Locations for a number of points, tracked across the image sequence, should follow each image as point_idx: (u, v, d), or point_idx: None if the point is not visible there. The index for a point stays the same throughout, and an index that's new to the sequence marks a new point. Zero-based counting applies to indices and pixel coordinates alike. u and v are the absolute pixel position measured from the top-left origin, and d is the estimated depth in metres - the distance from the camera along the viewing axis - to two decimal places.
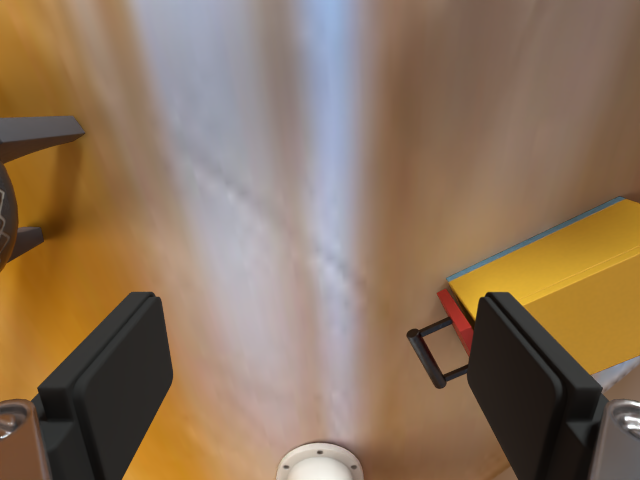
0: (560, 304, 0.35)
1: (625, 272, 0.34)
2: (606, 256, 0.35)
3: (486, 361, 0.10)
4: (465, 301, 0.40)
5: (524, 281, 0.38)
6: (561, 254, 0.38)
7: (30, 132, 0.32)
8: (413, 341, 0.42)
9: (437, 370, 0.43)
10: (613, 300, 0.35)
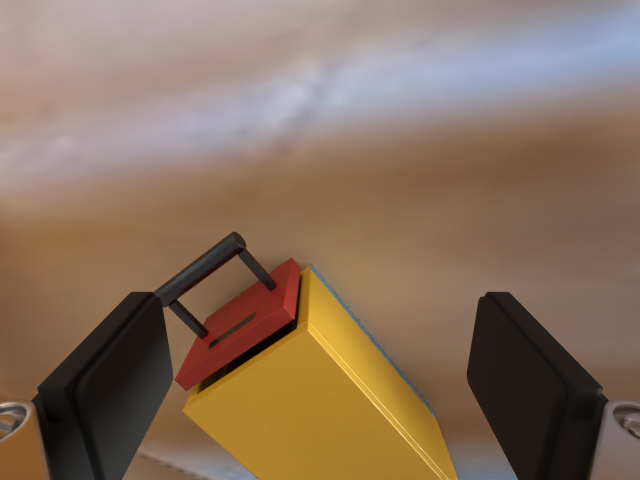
0: (354, 414, 0.26)
1: (406, 463, 0.28)
2: (413, 436, 0.29)
3: (486, 361, 0.10)
4: (311, 299, 0.28)
5: (359, 361, 0.28)
6: (389, 387, 0.31)
7: None
8: (228, 244, 0.27)
9: (185, 289, 0.28)
10: (367, 464, 0.28)
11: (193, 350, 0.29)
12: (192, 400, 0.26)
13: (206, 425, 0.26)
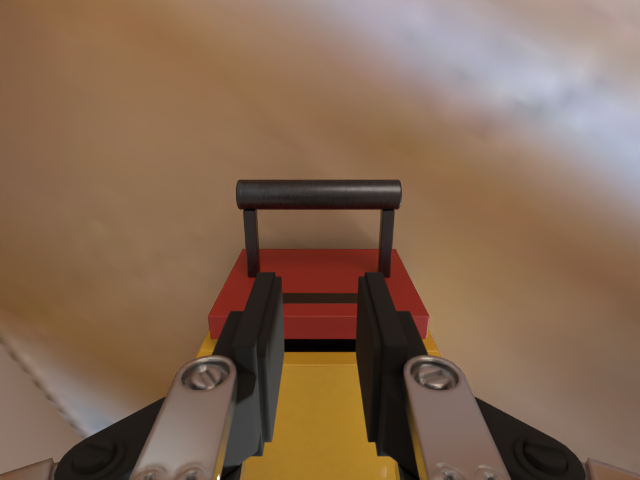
0: None
1: None
2: None
3: (359, 333, 0.11)
4: None
5: None
6: None
7: None
8: (389, 191, 0.18)
9: (287, 206, 0.18)
10: None
11: (234, 286, 0.19)
12: None
13: None
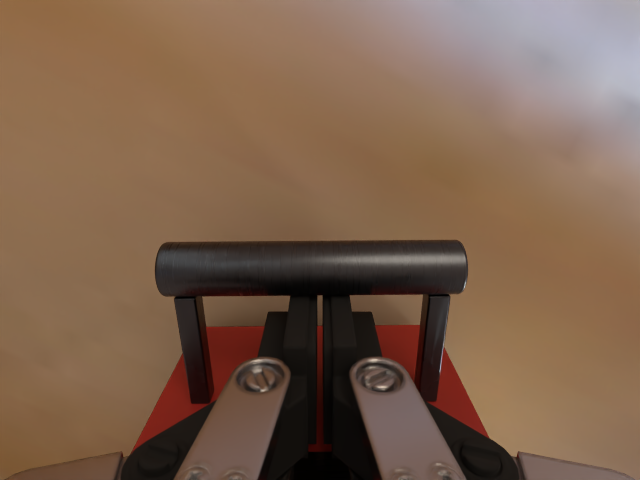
0: None
1: None
2: None
3: None
4: None
5: None
6: None
7: None
8: (445, 266, 0.10)
9: (253, 292, 0.10)
10: None
11: (161, 431, 0.11)
12: None
13: None
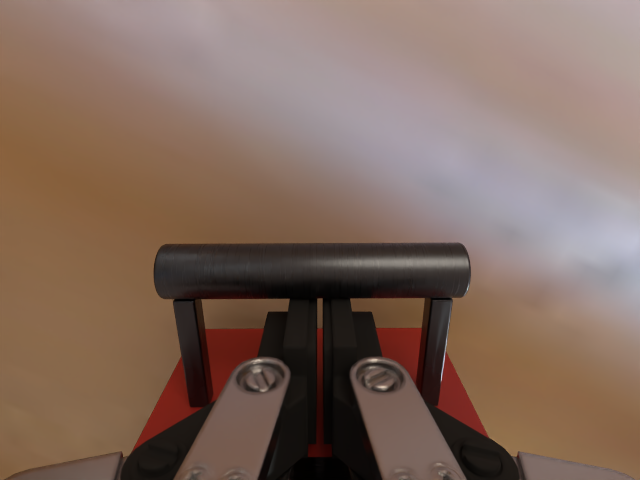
0: None
1: None
2: None
3: None
4: None
5: None
6: None
7: None
8: (448, 270, 0.10)
9: (253, 295, 0.10)
10: None
11: None
12: None
13: None
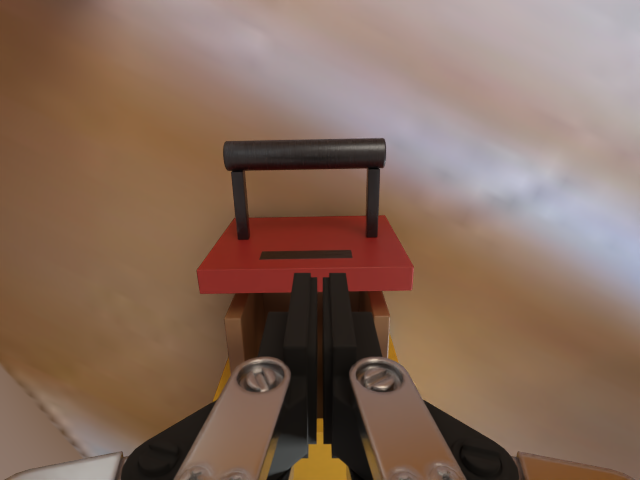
0: None
1: None
2: None
3: None
4: None
5: None
6: None
7: None
8: (374, 148, 0.19)
9: (274, 165, 0.19)
10: None
11: (224, 247, 0.20)
12: None
13: None
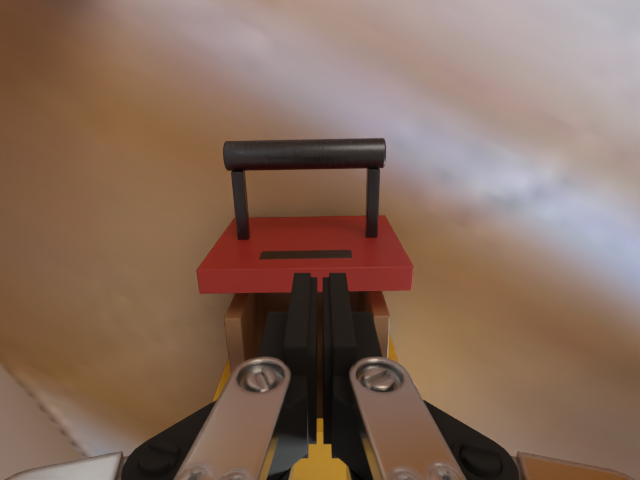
0: None
1: None
2: None
3: None
4: None
5: None
6: None
7: None
8: (374, 148, 0.19)
9: (274, 165, 0.19)
10: None
11: (224, 246, 0.20)
12: None
13: None
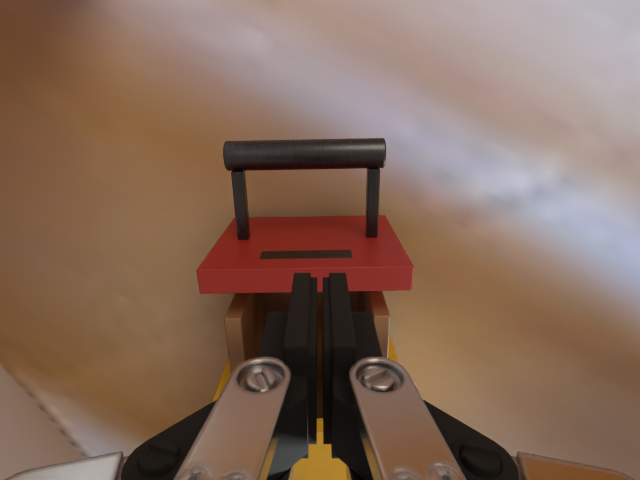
0: None
1: None
2: None
3: None
4: None
5: None
6: None
7: None
8: (374, 148, 0.19)
9: (274, 165, 0.19)
10: None
11: (224, 246, 0.20)
12: None
13: None
